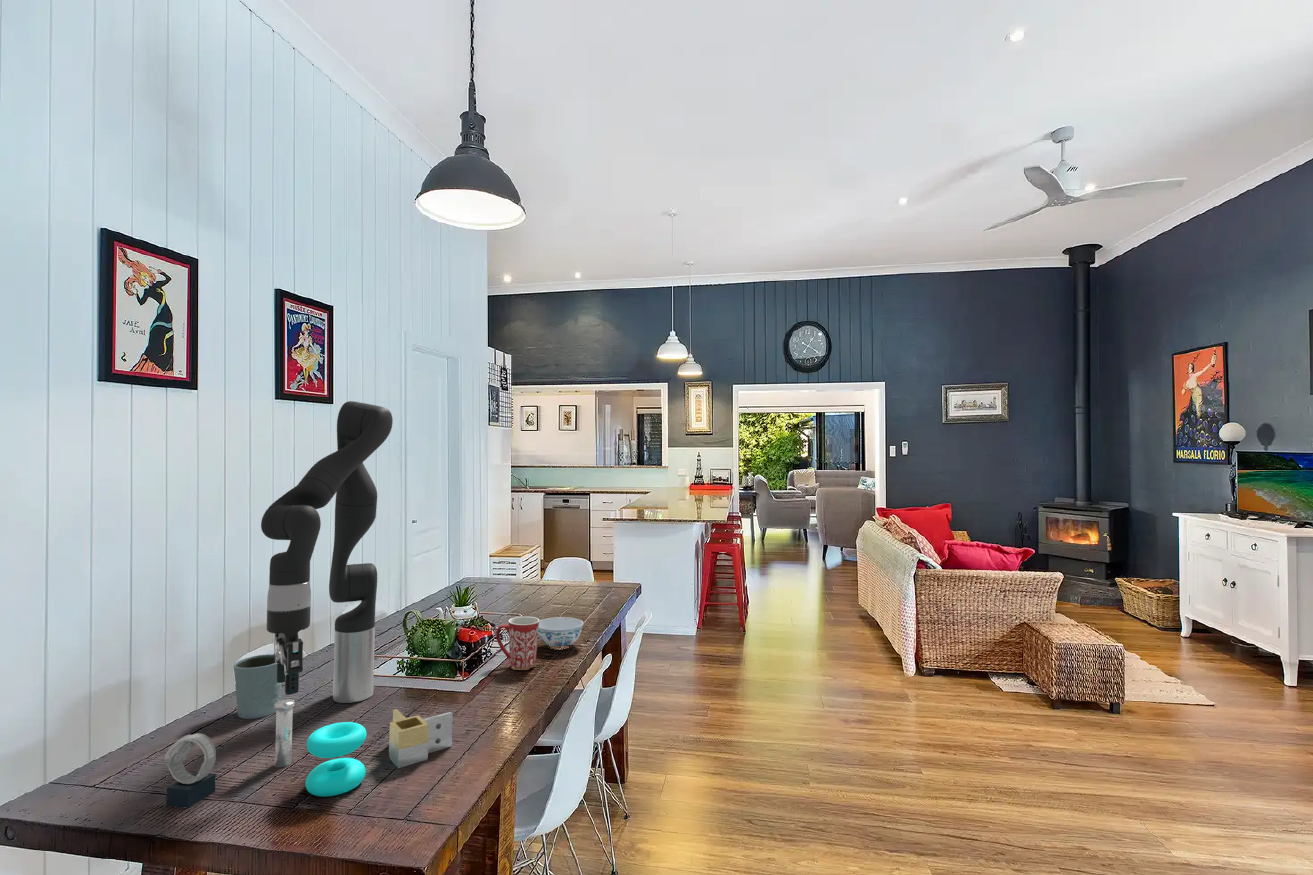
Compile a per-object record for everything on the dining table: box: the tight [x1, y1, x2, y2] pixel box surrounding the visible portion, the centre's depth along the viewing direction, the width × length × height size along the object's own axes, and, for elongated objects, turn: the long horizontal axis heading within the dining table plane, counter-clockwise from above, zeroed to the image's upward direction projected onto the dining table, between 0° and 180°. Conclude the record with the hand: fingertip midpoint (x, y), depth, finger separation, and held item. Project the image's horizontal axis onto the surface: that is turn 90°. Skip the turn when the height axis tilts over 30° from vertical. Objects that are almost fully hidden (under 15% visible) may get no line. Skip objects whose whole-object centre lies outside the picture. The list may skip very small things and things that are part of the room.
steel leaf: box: [388, 711, 453, 769], centre depth 129 cm, size 6×12×7 cm, turn 130°
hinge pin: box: [274, 698, 296, 768], centre depth 124 cm, size 3×3×12 cm
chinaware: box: [538, 616, 584, 647], centre depth 201 cm, size 15×15×8 cm
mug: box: [495, 616, 541, 668], centre depth 183 cm, size 13×9×14 cm
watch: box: [163, 732, 217, 809], centre depth 112 cm, size 6×8×11 cm
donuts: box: [304, 721, 368, 797], centre depth 117 cm, size 10×10×10 cm
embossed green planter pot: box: [233, 653, 283, 720], centre depth 149 cm, size 10×10×12 cm
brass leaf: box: [388, 708, 429, 750], centre depth 130 cm, size 12×6×7 cm, turn 40°
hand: (287, 687), depth 125 cm, fingers open, 8 cm apart
